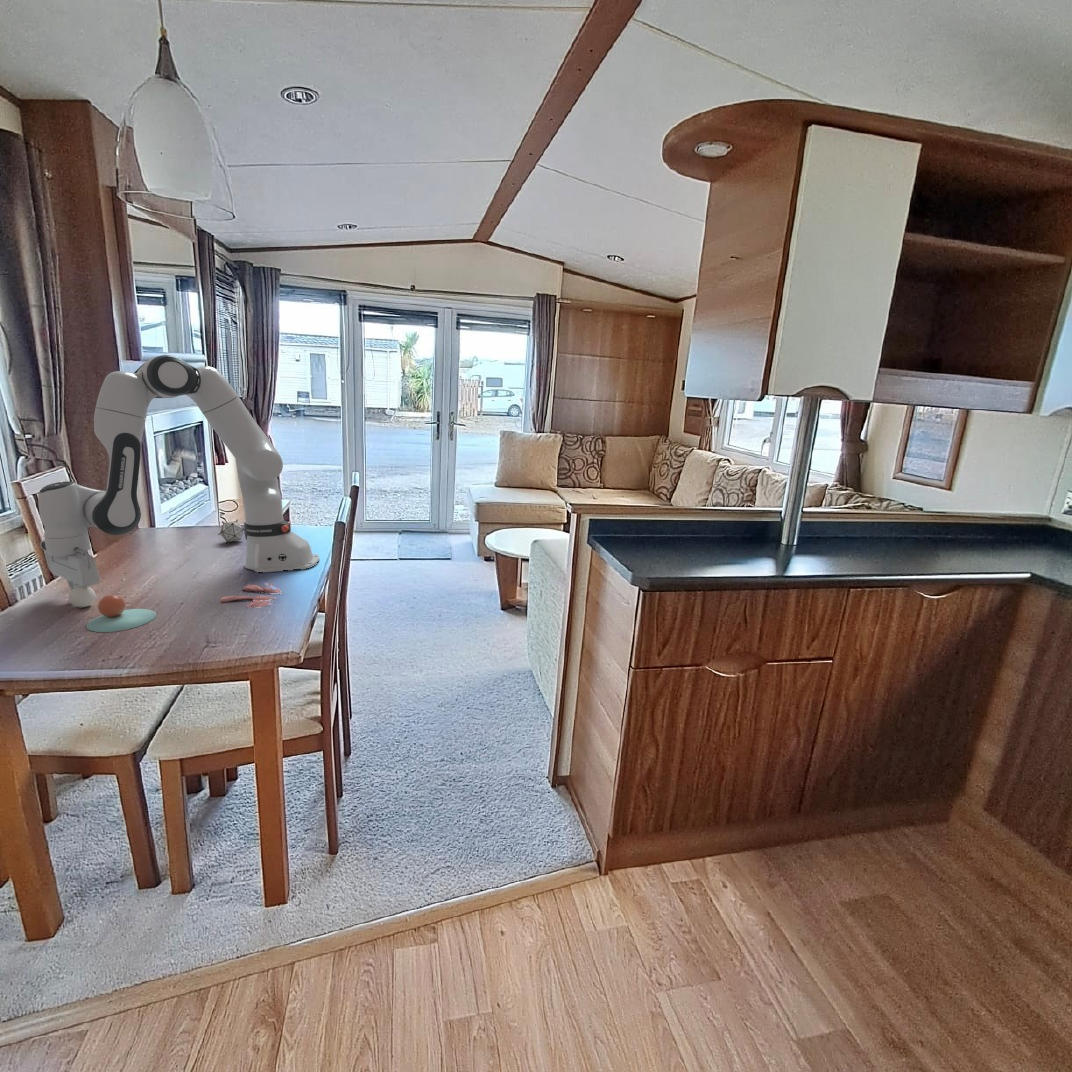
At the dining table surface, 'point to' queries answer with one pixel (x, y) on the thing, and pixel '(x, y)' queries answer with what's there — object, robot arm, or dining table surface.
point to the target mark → (121, 620)
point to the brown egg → (111, 605)
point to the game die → (231, 531)
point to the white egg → (82, 596)
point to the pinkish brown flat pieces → (257, 599)
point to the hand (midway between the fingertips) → (78, 595)
